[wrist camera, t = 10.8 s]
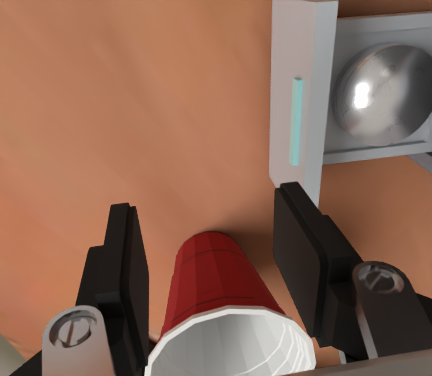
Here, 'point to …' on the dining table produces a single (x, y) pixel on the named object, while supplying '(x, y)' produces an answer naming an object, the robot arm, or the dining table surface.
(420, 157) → the housing
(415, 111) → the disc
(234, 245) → the plastic cup
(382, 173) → the dining table surface
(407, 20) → the grey rectangular fixture
